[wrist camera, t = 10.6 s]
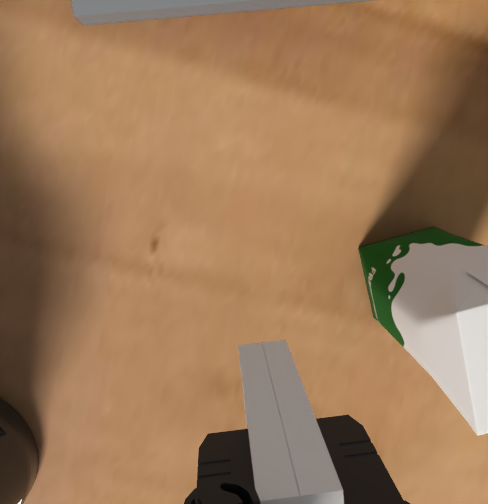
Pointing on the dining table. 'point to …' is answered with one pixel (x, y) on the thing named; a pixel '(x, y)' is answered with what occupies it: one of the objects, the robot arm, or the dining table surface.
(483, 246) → the milk carton
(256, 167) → the dining table surface
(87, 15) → the plate
